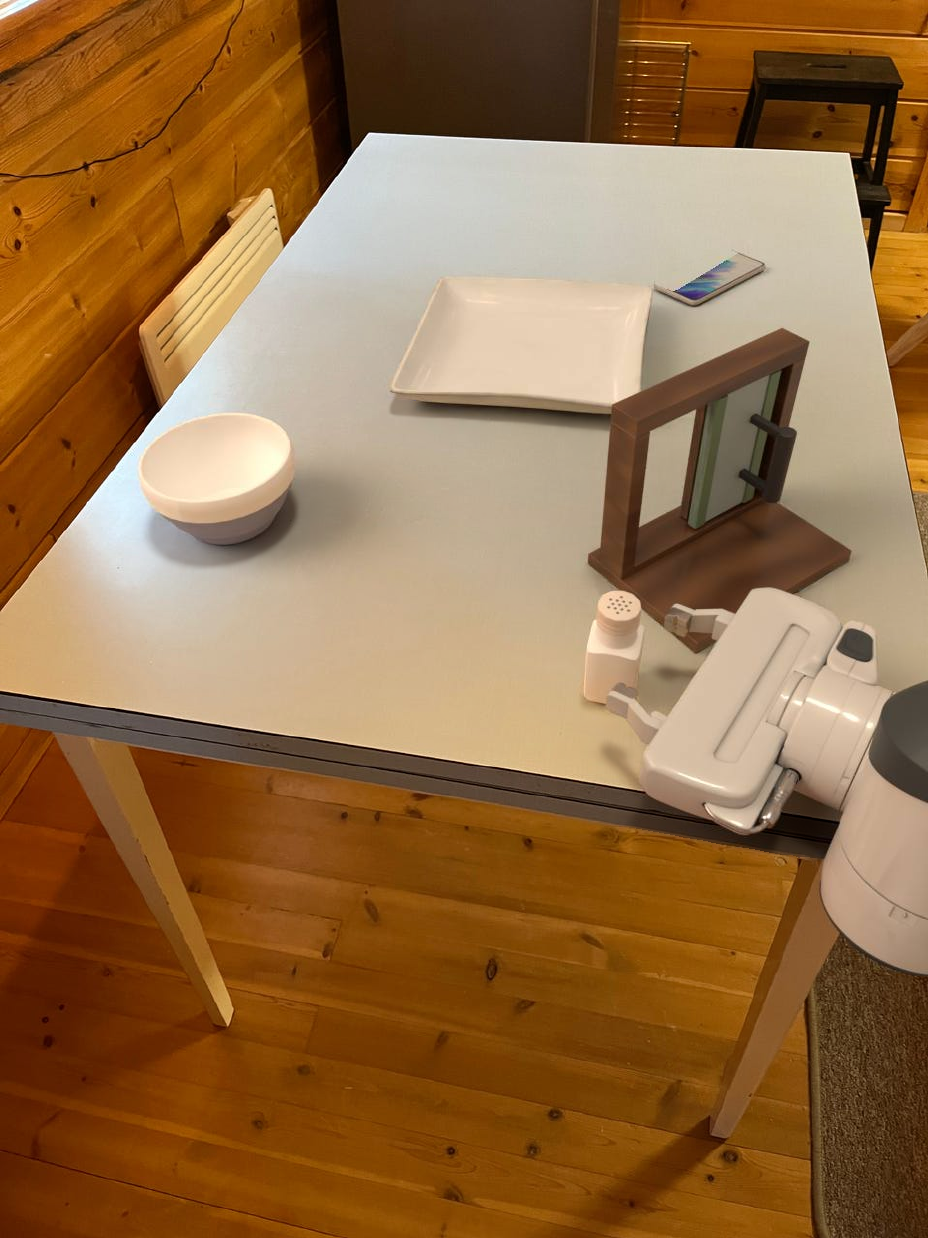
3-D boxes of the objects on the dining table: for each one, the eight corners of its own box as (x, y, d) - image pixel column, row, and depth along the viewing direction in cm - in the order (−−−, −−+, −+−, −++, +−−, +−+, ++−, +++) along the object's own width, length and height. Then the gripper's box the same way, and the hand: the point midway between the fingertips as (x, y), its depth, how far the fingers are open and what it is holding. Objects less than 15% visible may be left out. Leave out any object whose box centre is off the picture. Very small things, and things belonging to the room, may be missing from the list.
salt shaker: (631, 712, 73) (643, 628, 66) (581, 702, 74) (587, 619, 67) (639, 674, 76) (650, 590, 69) (590, 665, 77) (597, 582, 70)
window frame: (849, 560, 84) (907, 389, 71) (695, 653, 77) (730, 482, 64) (734, 485, 92) (768, 320, 80) (587, 563, 85) (599, 395, 73)
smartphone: (768, 263, 123) (694, 301, 117) (766, 269, 124) (693, 308, 118) (724, 246, 127) (651, 282, 121) (723, 252, 128) (650, 288, 121)
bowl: (328, 485, 95) (317, 422, 90) (266, 578, 86) (249, 514, 80) (203, 464, 99) (185, 402, 93) (130, 552, 89) (105, 489, 84)
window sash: (787, 521, 85) (822, 391, 75) (729, 554, 82) (757, 423, 72) (744, 493, 88) (772, 365, 78) (687, 524, 85) (709, 394, 75)
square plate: (441, 300, 122) (439, 271, 119) (651, 311, 118) (654, 282, 115) (389, 414, 104) (385, 384, 101) (636, 433, 99) (639, 402, 96)
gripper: (756, 871, 60) (569, 775, 66) (858, 669, 71) (692, 603, 77) (775, 818, 55) (573, 720, 61) (881, 611, 67) (702, 545, 73)
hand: (640, 653), depth 69 cm, fingers open, 8 cm apart
